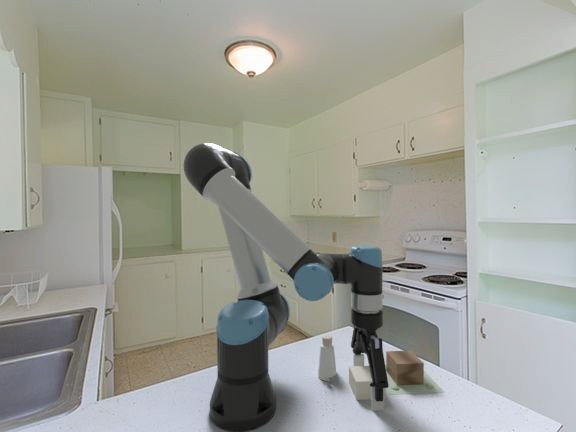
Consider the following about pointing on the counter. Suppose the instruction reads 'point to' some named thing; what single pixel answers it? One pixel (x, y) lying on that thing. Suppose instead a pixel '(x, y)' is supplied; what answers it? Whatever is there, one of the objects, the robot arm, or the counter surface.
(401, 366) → the brick
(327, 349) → the pepper shaker
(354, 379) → the brick
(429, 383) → the base plate
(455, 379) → the counter surface
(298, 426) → the counter surface
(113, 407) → the counter surface
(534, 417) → the counter surface
